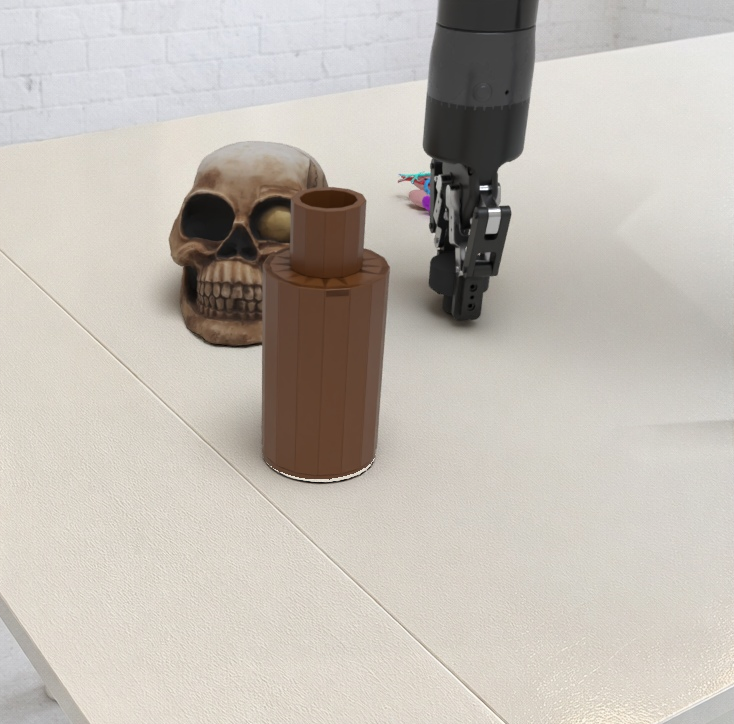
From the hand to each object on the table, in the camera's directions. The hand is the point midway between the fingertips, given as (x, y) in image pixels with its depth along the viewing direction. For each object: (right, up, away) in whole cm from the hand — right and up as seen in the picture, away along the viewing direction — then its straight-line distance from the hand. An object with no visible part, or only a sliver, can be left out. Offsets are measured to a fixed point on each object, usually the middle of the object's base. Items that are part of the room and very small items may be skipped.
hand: (456, 304), depth 92 cm
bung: (0, 0, 0) cm, 0 cm away
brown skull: (-17, +1, +3) cm, 17 cm away
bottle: (-13, -13, -18) cm, 26 cm away
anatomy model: (+2, +15, +23) cm, 27 cm away
